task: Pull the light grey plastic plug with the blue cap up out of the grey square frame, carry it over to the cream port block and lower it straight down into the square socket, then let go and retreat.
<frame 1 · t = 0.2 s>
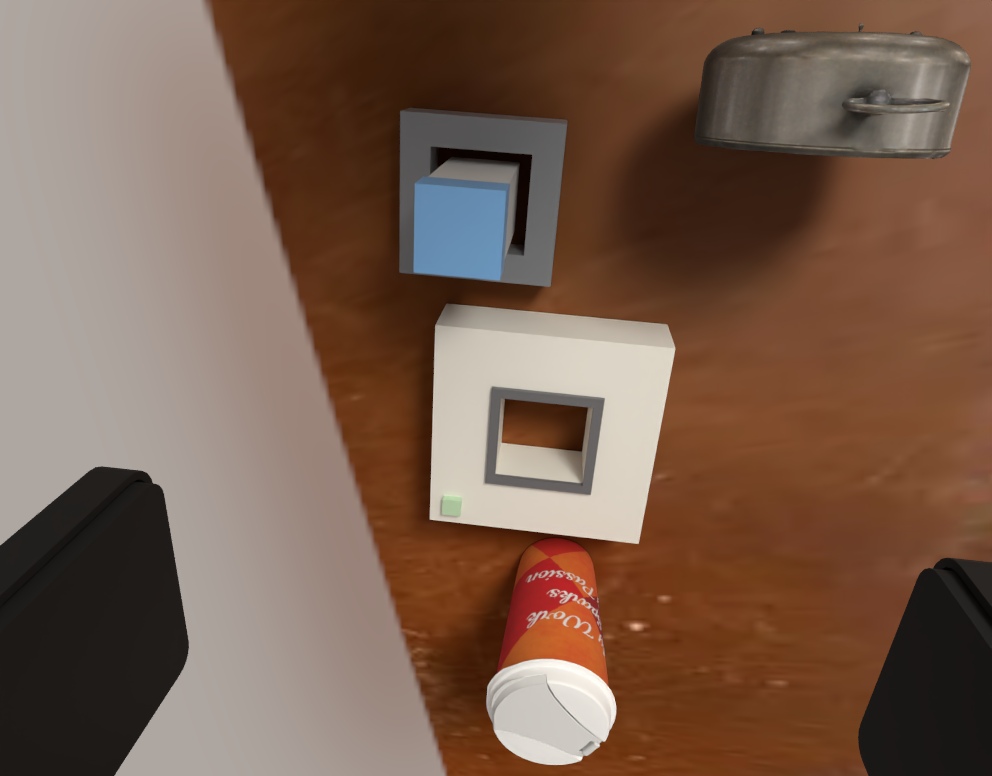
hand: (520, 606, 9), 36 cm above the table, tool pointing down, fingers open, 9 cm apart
paper cup: (555, 564, 53), on the table
grey square frame: (483, 194, 42), on the table
plug: (472, 211, 37), in the grey square frame
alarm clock: (785, 86, 38), on the table
port panel: (545, 411, 48), on the table
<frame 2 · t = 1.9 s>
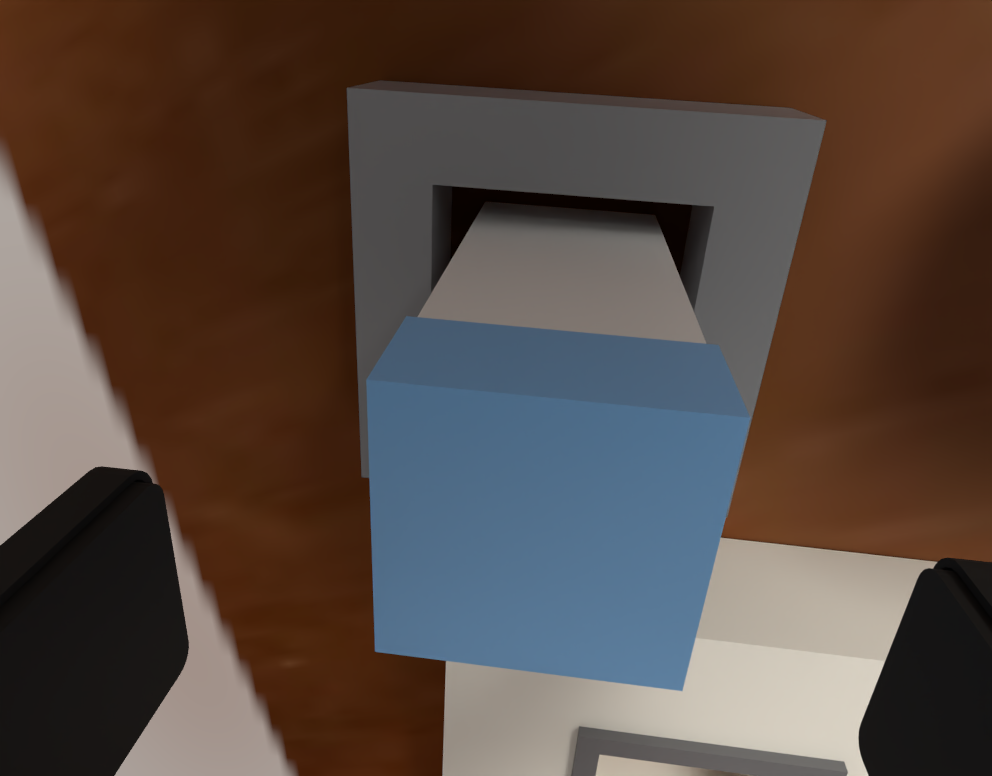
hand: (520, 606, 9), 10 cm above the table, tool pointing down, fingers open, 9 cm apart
grey square frame: (561, 289, 18), on the table
plug: (553, 375, 13), in the grey square frame
port panel: (671, 704, 23), on the table
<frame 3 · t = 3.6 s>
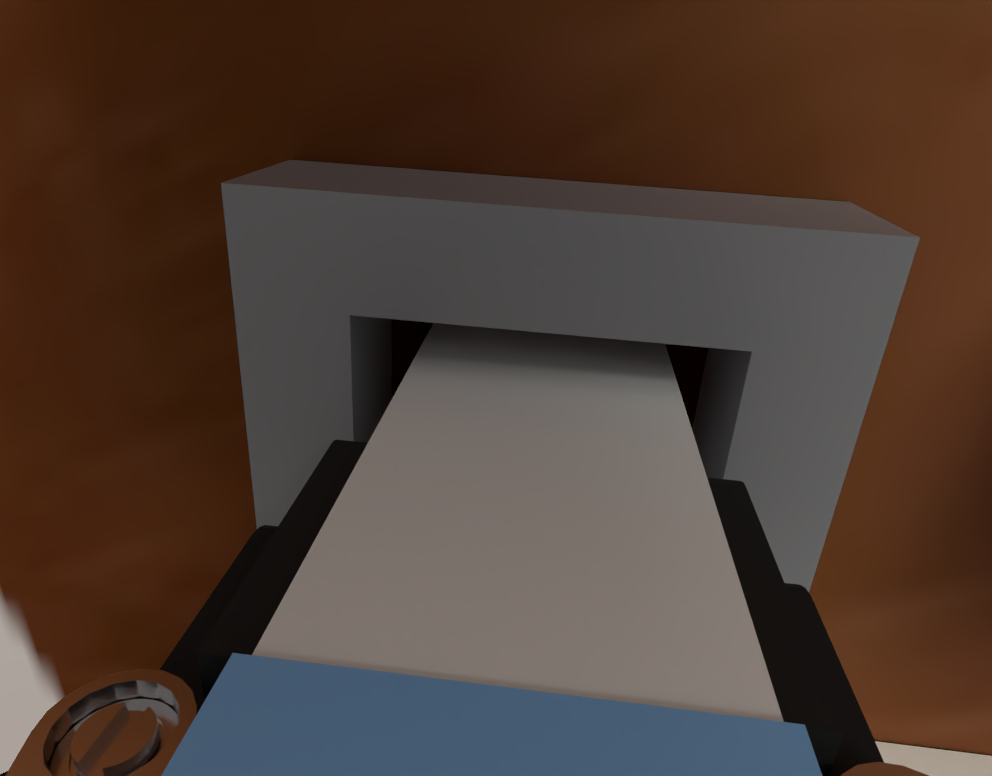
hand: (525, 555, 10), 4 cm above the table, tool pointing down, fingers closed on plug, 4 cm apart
grey square frame: (538, 426, 13), on the table
plug: (519, 616, 9), in the grey square frame, touching gripper
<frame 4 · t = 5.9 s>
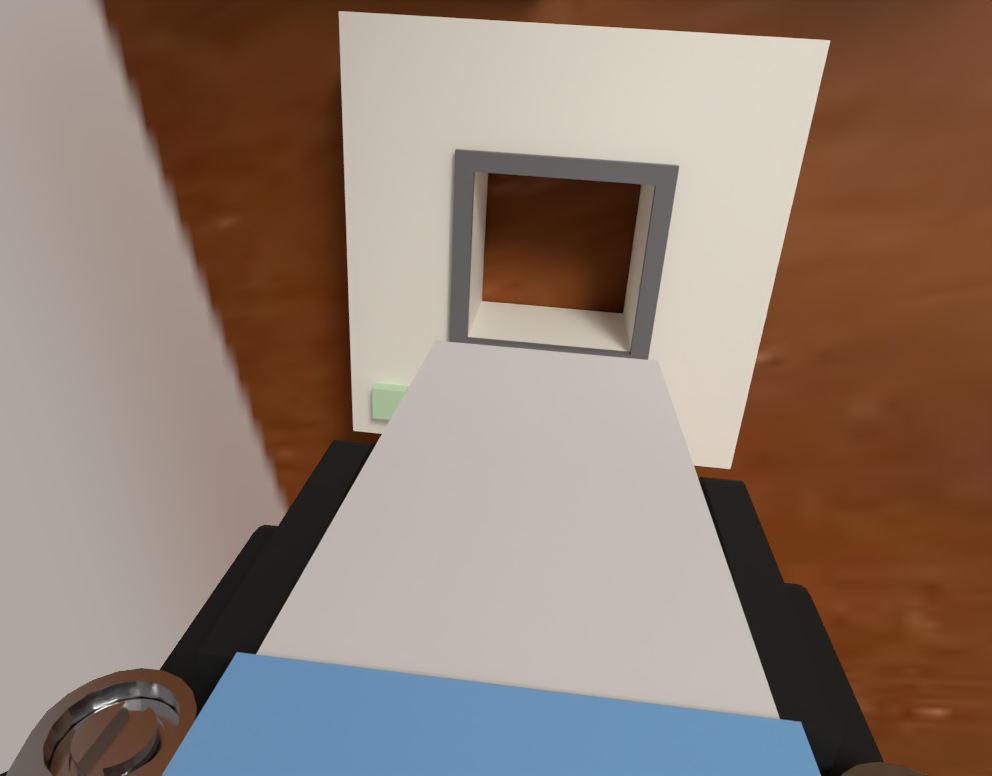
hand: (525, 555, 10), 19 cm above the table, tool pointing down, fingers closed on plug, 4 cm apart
plug: (518, 631, 9), point 20 cm above the table, touching gripper
port panel: (558, 236, 27), on the table
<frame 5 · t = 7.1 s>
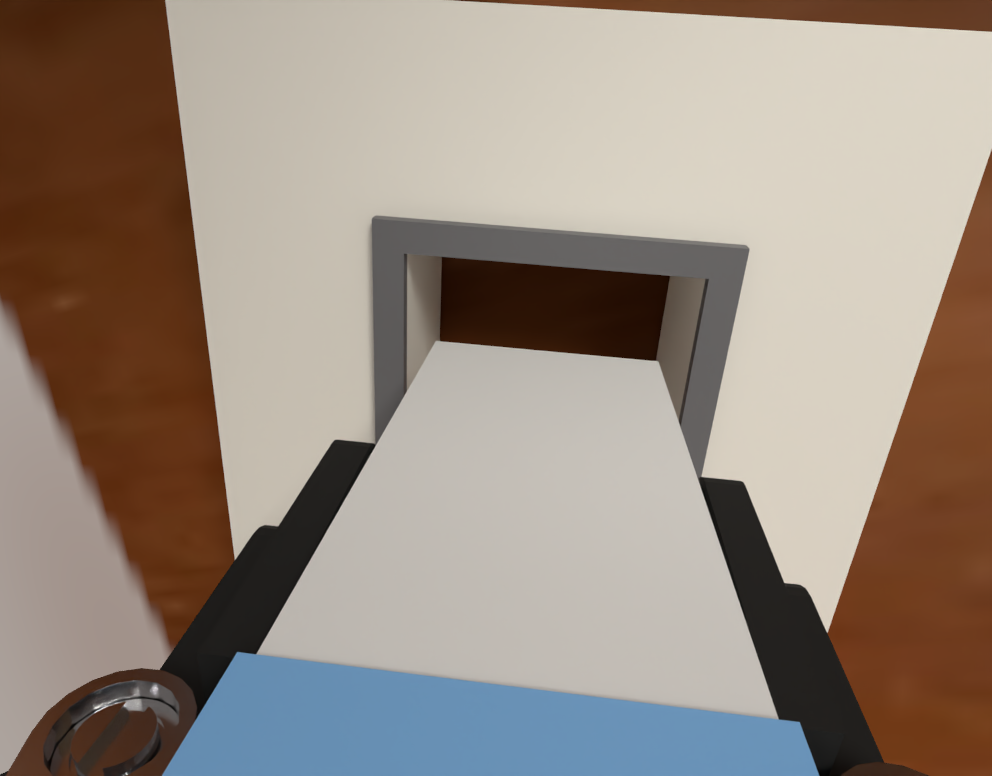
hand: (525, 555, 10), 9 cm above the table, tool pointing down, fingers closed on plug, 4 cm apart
plug: (518, 631, 9), point 10 cm above the table, touching gripper
port panel: (548, 329, 18), on the table
when the fingers open (5 cm above the table, at t = 8.2 s): plug drops 1 cm, resting in port panel.
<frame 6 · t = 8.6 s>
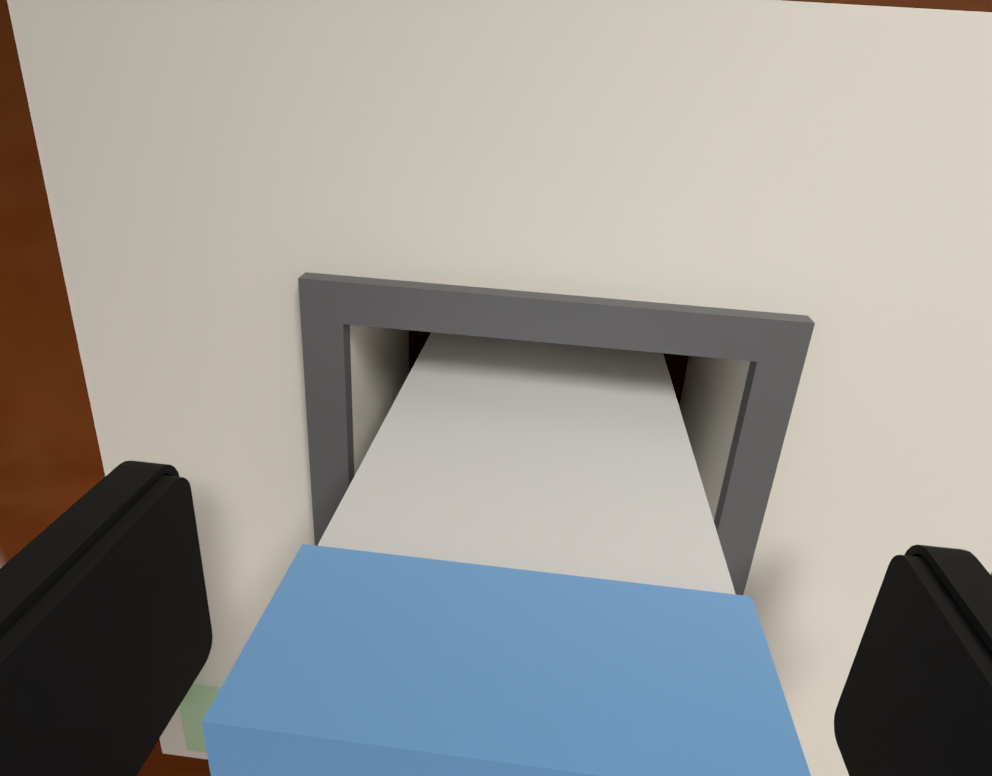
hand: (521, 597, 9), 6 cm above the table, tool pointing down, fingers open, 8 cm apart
plug: (525, 550, 10), in the port panel
port panel: (542, 394, 15), on the table
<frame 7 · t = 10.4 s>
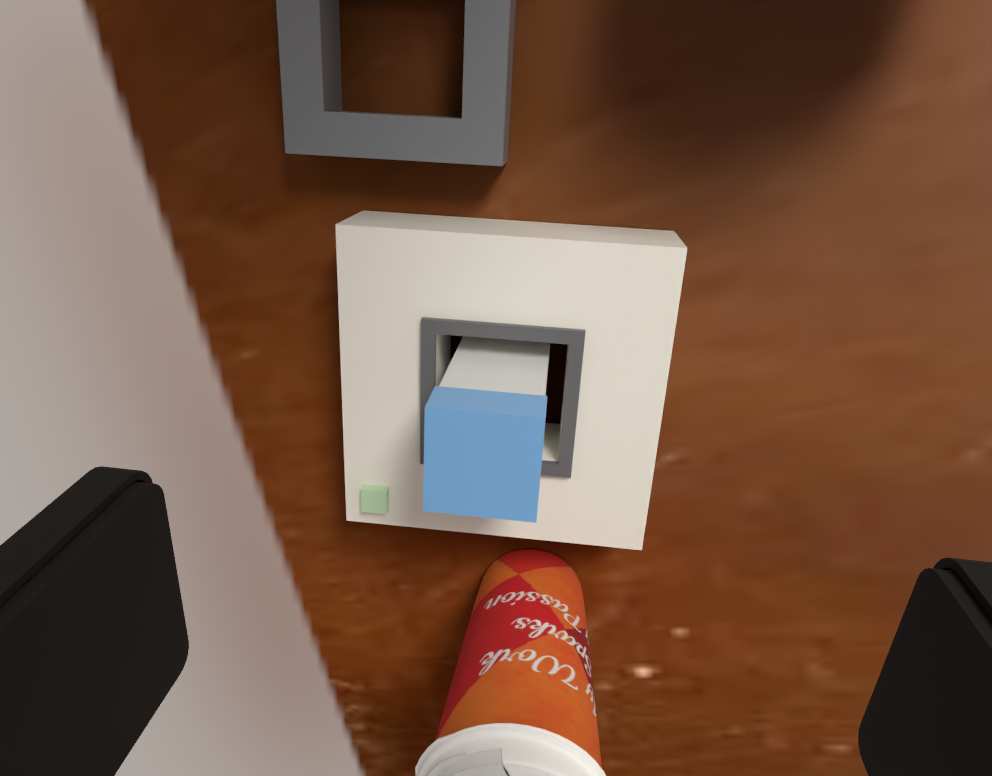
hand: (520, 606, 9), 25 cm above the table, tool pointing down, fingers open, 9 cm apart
paper cup: (530, 587, 39), on the table
grey square frame: (406, 42, 29), on the table
plug: (496, 410, 30), in the port panel
port panel: (507, 366, 34), on the table
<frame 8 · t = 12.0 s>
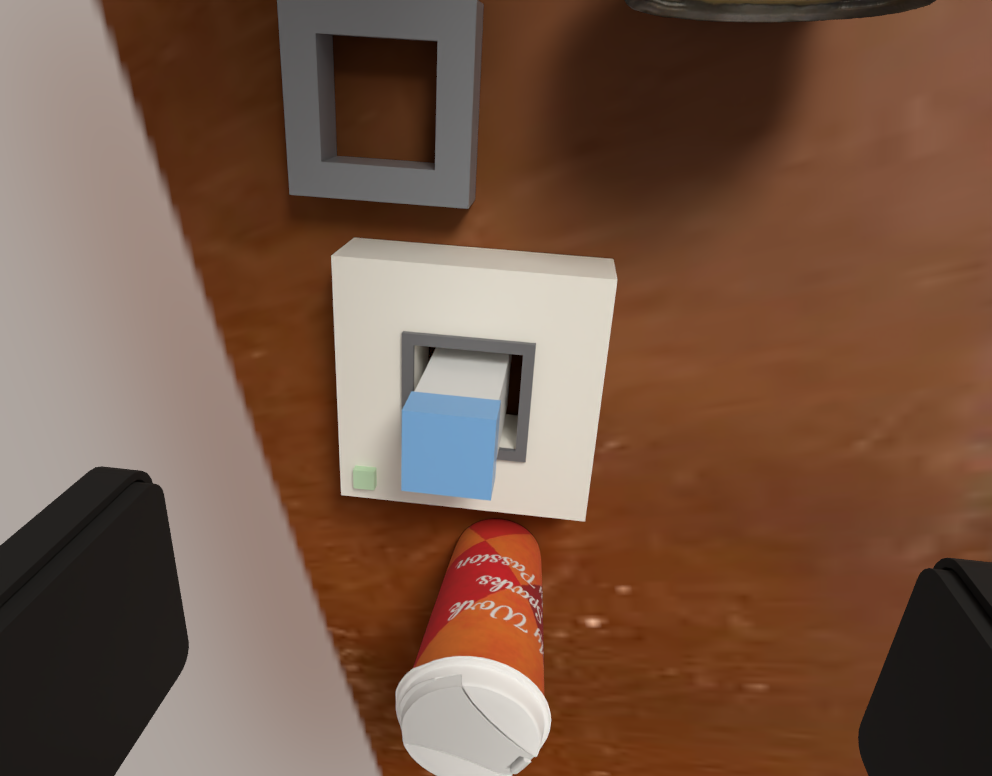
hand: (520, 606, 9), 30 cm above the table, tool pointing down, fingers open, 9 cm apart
paper cup: (497, 550, 46), on the table
grey square frame: (389, 101, 35), on the table
plug: (463, 407, 36), in the port panel
port panel: (476, 367, 41), on the table
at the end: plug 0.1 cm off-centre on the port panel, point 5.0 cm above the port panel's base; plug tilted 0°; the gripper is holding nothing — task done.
